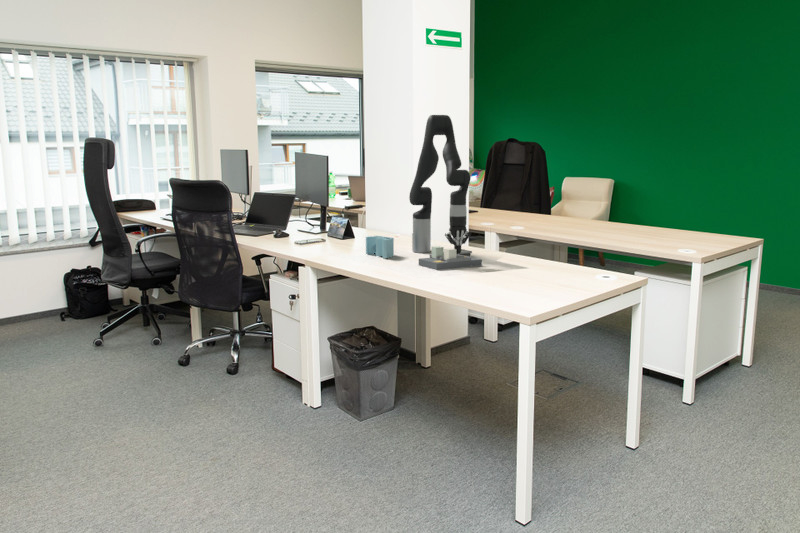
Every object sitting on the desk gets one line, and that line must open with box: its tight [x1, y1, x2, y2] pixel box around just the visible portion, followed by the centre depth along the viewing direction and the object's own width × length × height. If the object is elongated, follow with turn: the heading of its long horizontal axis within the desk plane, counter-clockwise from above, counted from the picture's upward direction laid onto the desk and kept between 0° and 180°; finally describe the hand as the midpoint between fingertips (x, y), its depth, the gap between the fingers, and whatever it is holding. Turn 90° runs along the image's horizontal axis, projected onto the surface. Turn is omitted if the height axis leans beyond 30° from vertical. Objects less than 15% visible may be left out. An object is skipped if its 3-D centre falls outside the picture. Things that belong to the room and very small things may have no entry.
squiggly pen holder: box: [365, 235, 395, 259], centre depth 319 cm, size 18×10×9 cm, turn 45°
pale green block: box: [431, 245, 445, 259], centre depth 290 cm, size 4×4×5 cm
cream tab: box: [444, 247, 456, 261], centre depth 282 cm, size 4×4×5 cm
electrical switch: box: [456, 248, 473, 257], centre depth 310 cm, size 9×5×9 cm
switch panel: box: [418, 253, 483, 271], centre depth 288 cm, size 16×24×4 cm, turn 118°
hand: (457, 253), depth 284 cm, fingers closed
